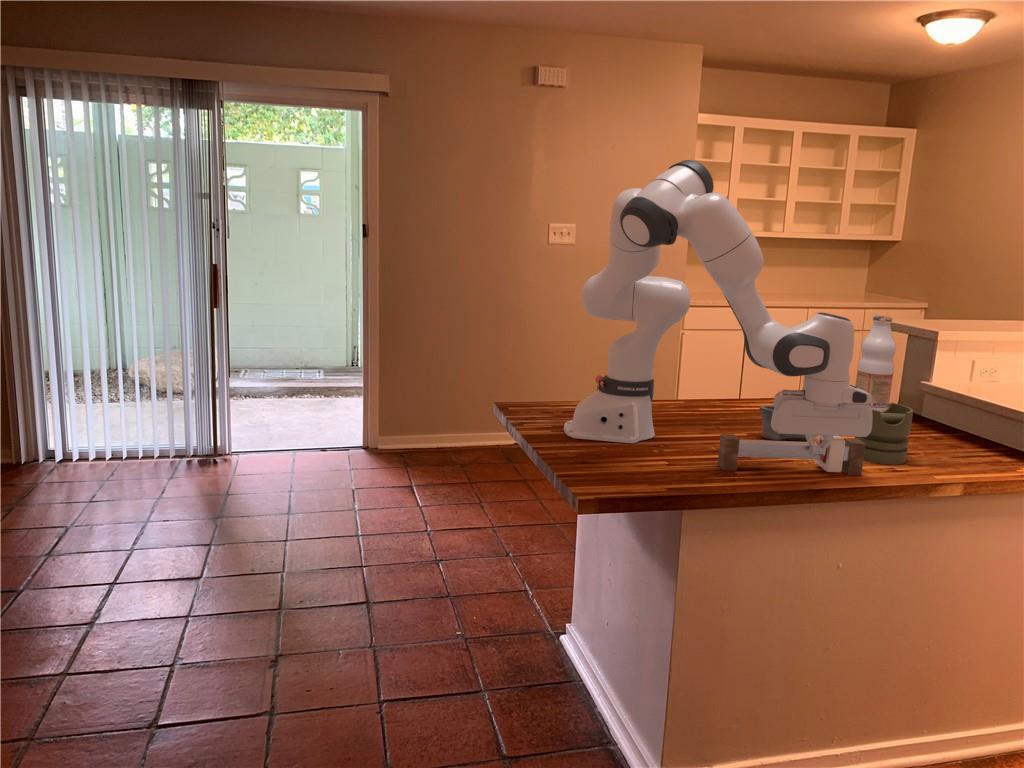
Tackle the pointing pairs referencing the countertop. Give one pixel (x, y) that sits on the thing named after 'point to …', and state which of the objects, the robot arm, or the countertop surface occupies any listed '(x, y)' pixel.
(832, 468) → the collar
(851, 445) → the posts
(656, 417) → the countertop surface
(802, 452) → the steel rail
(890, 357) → the fruit juice
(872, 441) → the piston
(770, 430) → the pipe
